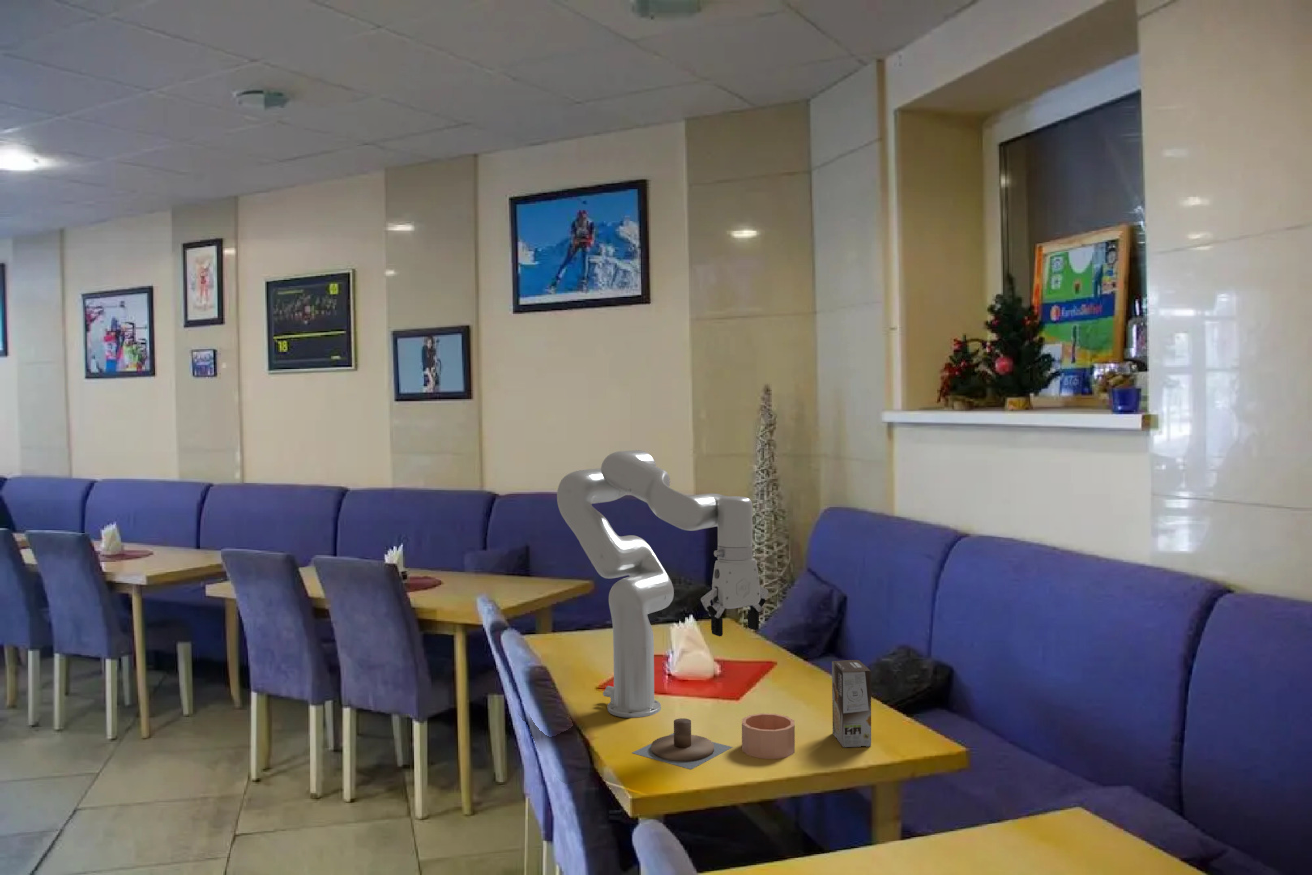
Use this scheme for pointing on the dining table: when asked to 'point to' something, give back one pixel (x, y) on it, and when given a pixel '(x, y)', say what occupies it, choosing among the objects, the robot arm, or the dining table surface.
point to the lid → (682, 744)
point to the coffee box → (851, 703)
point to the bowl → (768, 736)
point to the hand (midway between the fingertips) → (735, 632)
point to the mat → (688, 764)
